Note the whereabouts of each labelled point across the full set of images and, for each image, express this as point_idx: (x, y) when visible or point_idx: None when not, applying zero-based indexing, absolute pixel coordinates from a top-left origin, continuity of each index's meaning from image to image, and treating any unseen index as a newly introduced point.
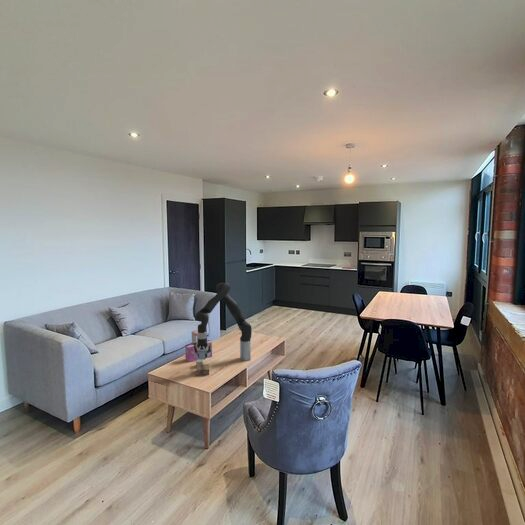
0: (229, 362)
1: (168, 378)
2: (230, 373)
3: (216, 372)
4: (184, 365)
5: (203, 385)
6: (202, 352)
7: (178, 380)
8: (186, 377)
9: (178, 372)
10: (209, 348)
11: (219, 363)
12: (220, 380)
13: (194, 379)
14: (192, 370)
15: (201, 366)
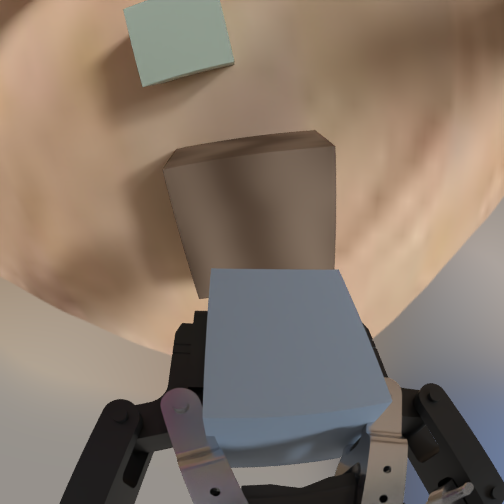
0: (487, 25)
1: (28, 288)
2: (468, 227)
3: (384, 202)
4: (31, 54)
5: None
6: (291, 461)
7: (97, 315)
8: (130, 282)
9: (34, 203)
10: (441, 482)
11: (415, 8)
12: (387, 315)
13: (203, 310)
14: (133, 152)
15: (240, 214)
